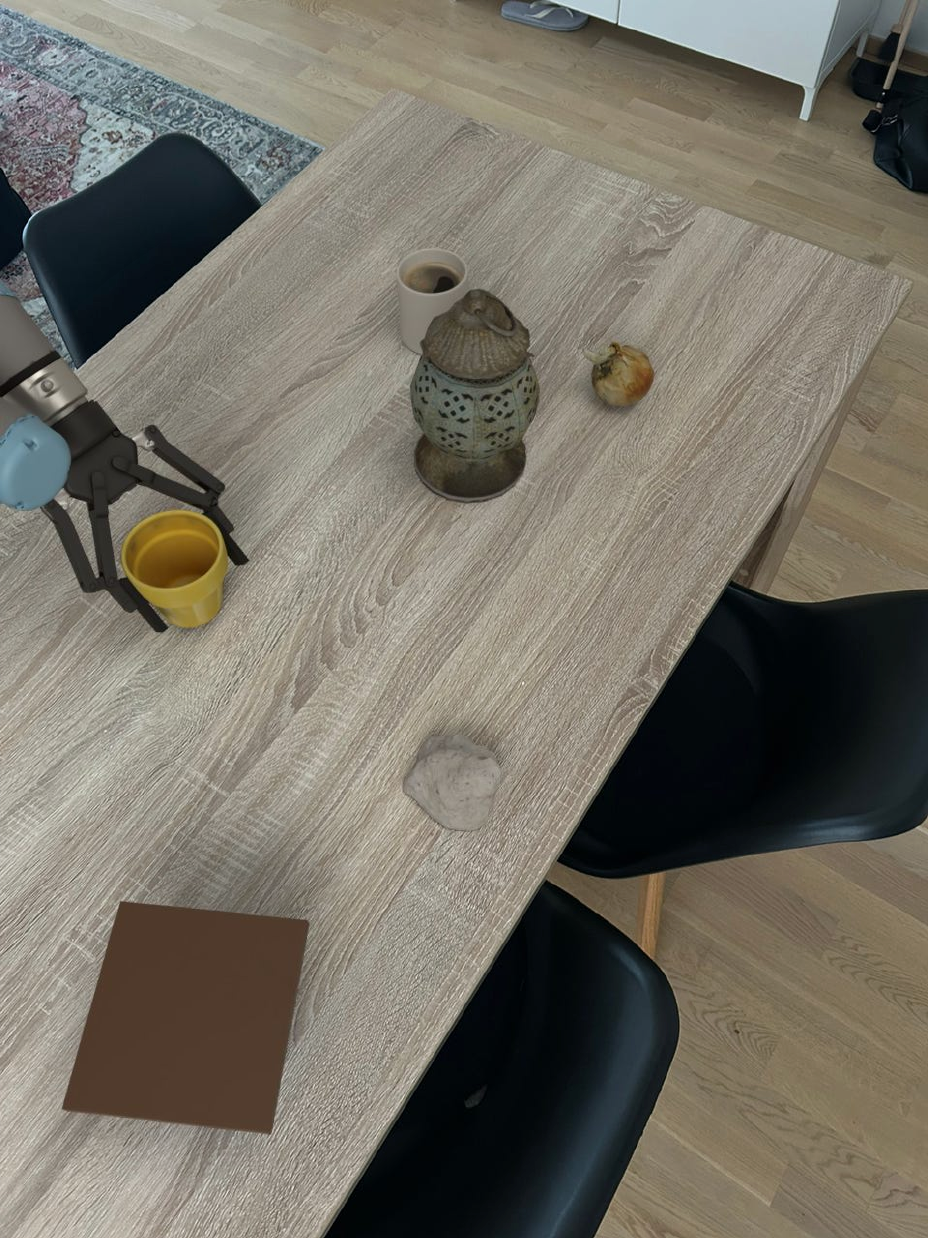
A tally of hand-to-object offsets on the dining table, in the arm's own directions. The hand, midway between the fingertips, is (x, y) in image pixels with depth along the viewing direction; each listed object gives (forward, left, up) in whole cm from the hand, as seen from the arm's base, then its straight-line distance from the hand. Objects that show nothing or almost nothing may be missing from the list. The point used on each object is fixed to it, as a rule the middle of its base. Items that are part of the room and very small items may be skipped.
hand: (203, 596), depth 108 cm
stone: (+28, -16, -6) cm, 33 cm away
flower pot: (-2, +2, -4) cm, 5 cm away
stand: (+10, -41, -5) cm, 43 cm away
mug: (+19, +48, -6) cm, 52 cm away
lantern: (+26, +26, -6) cm, 37 cm away
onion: (+43, +38, -6) cm, 57 cm away
